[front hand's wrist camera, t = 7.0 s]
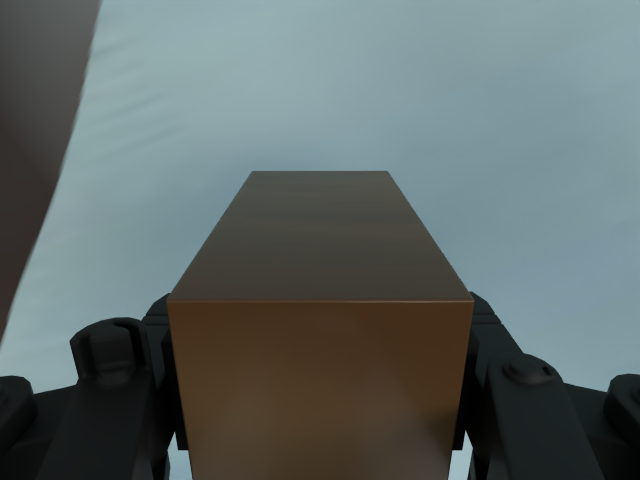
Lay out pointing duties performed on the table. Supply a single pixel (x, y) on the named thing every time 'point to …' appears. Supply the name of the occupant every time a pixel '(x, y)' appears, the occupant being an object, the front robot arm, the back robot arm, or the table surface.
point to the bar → (320, 335)
